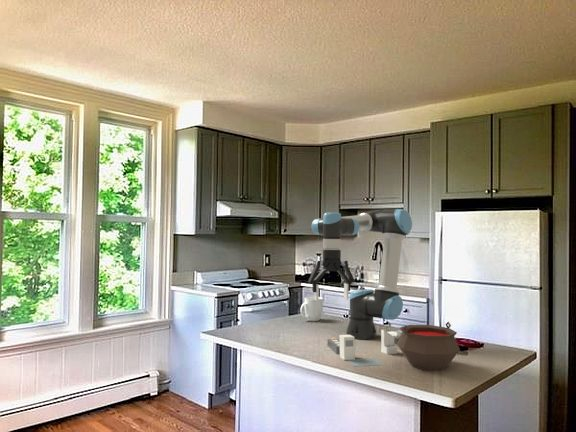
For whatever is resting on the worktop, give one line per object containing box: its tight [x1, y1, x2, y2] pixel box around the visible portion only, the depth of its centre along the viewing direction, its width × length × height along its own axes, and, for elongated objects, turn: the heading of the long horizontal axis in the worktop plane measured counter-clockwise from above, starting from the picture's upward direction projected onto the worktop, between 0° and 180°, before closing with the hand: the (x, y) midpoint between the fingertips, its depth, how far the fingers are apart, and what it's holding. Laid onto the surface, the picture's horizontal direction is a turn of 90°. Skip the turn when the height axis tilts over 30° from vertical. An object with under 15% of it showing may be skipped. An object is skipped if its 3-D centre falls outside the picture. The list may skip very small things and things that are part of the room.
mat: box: [346, 358, 384, 367], centre depth 180 cm, size 12×9×1 cm
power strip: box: [326, 337, 340, 355], centre depth 203 cm, size 5×20×4 cm, turn 11°
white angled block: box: [380, 329, 398, 355], centre depth 196 cm, size 4×10×9 cm, turn 118°
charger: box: [339, 334, 356, 361], centre depth 187 cm, size 4×7×9 cm, turn 11°
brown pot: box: [396, 321, 461, 371], centre depth 179 cm, size 24×24×16 cm
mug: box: [299, 296, 324, 322], centre depth 267 cm, size 15×11×13 cm
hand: (331, 299), depth 191 cm, fingers open, 13 cm apart
